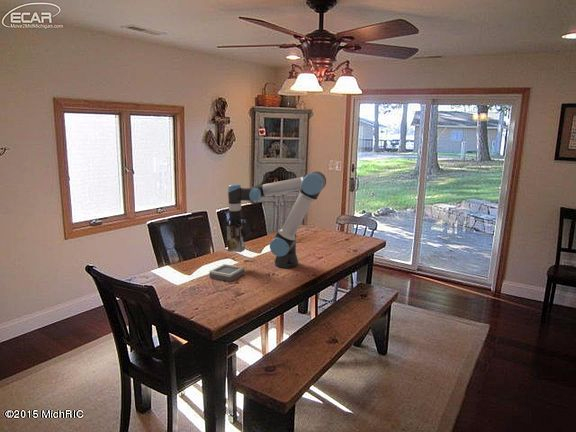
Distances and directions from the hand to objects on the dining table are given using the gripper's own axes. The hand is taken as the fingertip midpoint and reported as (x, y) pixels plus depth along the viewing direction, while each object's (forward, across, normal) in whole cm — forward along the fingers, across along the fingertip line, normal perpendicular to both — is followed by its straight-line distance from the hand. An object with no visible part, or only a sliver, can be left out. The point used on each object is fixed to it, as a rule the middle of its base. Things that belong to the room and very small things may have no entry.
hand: (236, 245), depth 255 cm
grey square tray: (+14, -3, +16) cm, 21 cm away
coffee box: (+3, 0, 0) cm, 3 cm away
